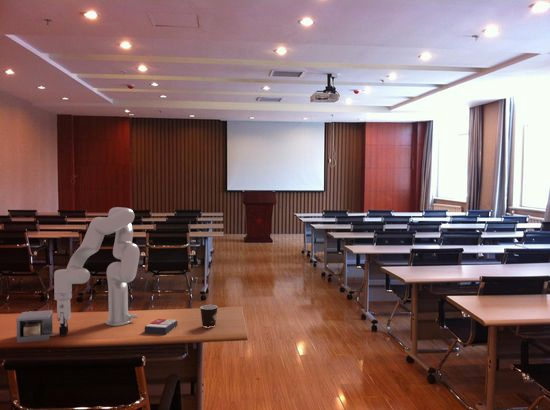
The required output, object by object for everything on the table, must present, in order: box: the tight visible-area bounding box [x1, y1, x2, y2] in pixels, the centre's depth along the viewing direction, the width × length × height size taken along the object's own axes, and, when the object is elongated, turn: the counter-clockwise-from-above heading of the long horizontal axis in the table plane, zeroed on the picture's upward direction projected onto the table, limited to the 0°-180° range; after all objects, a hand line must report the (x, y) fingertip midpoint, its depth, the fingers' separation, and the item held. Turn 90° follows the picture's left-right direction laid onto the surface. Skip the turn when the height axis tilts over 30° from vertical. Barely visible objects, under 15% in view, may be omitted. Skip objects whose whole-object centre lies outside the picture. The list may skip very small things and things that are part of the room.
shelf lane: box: [15, 309, 54, 344], centre depth 218 cm, size 13×12×11 cm
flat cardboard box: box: [144, 318, 178, 336], centre depth 231 cm, size 11×4×15 cm
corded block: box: [24, 320, 68, 337], centre depth 220 cm, size 18×6×7 cm, turn 107°
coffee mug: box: [199, 304, 218, 327], centre depth 237 cm, size 12×9×10 cm
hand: (63, 333), depth 222 cm, fingers closed on corded block, 3 cm apart
